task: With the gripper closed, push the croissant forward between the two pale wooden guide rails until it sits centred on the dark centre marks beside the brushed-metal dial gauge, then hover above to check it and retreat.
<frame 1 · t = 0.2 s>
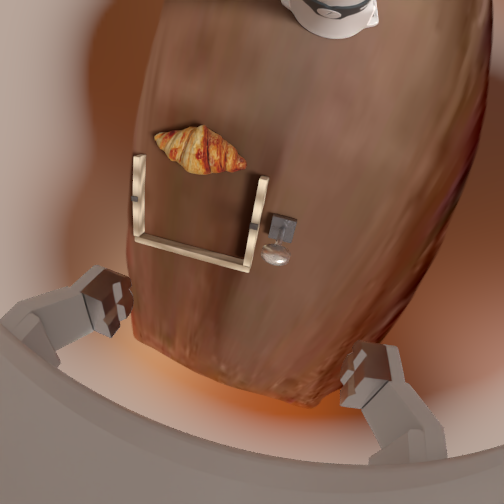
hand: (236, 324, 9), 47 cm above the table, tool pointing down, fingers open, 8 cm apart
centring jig: (195, 205, 60), on the table
dial gauge: (282, 226, 58), on the table
croissant: (202, 147, 54), on the table
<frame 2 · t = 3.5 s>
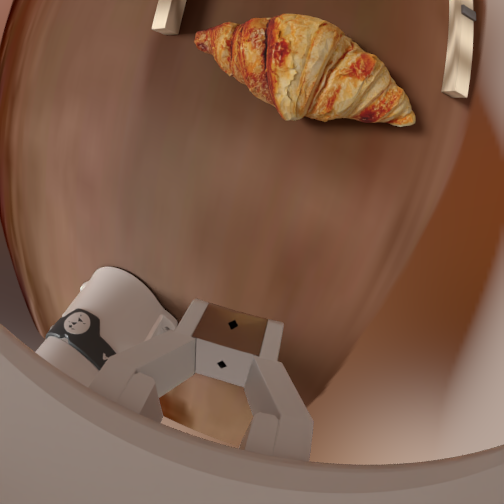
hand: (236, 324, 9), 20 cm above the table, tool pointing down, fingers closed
croissant: (307, 74, 21), on the table
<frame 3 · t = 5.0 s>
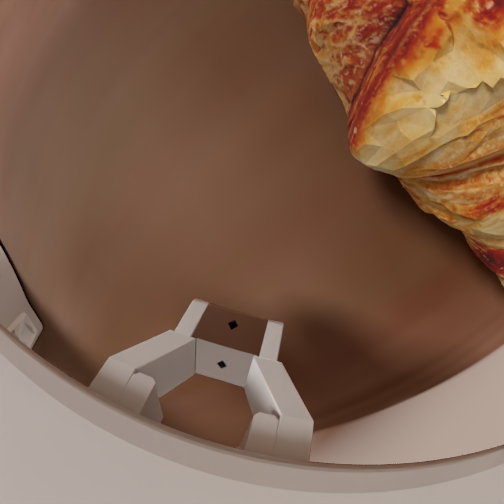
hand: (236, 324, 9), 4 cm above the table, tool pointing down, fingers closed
croissant: (436, 87, 7), on the table
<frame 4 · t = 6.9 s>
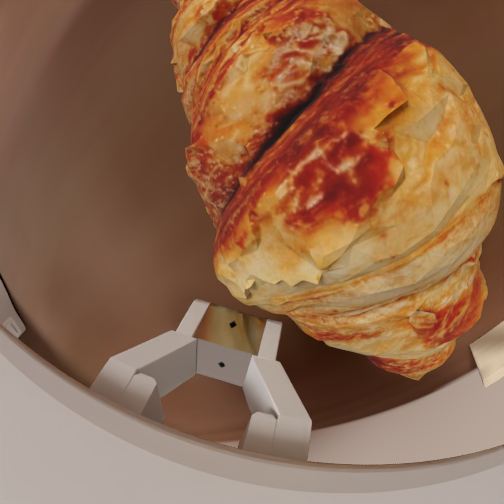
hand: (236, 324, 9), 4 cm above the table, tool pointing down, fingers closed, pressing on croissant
croissant: (346, 185, 10), on the table, touching gripper
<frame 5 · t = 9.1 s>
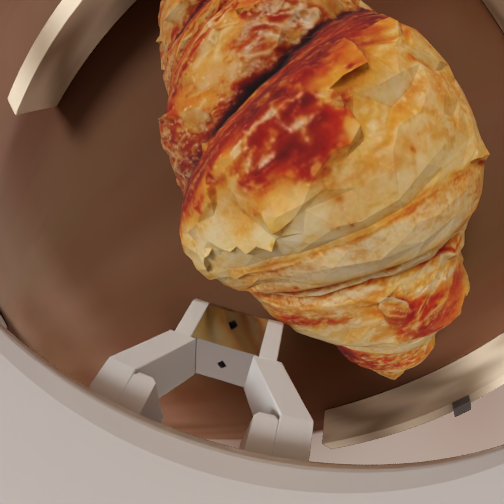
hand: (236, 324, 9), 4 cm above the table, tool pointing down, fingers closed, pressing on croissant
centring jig: (380, 185, 10), on the table
croissant: (325, 170, 10), on the table, touching gripper
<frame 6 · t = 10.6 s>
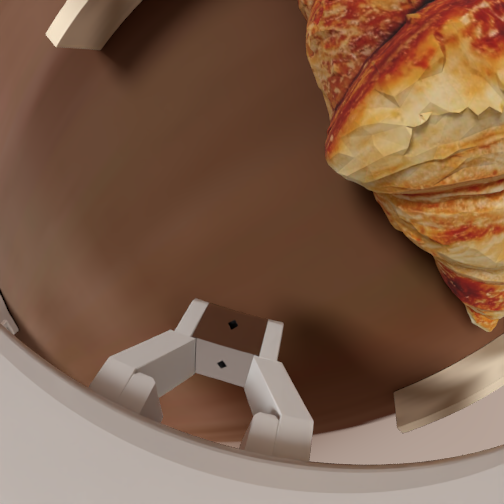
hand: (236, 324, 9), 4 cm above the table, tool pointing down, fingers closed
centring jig: (467, 131, 8), on the table
croissant: (431, 108, 8), on the table
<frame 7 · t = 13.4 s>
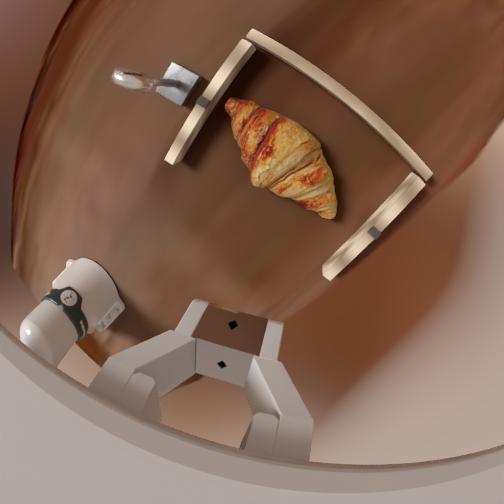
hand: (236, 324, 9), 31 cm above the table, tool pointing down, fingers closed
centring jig: (295, 160, 36), on the table
dial gauge: (180, 84, 33), on the table
croissant: (284, 156, 36), on the table
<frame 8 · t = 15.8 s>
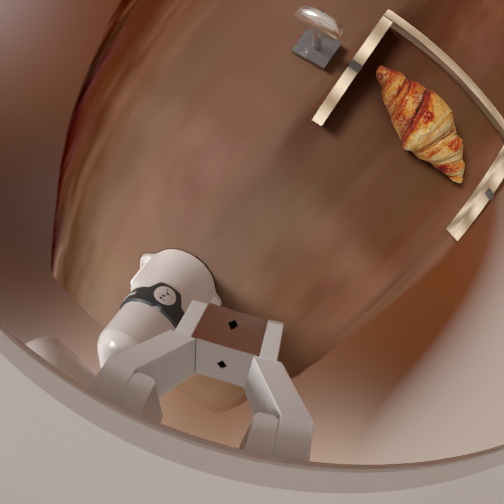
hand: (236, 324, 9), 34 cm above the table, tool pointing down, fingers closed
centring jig: (428, 130, 31), on the table
dial gauge: (316, 48, 29), on the table
croissant: (419, 126, 32), on the table
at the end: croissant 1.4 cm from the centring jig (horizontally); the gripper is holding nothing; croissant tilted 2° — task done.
